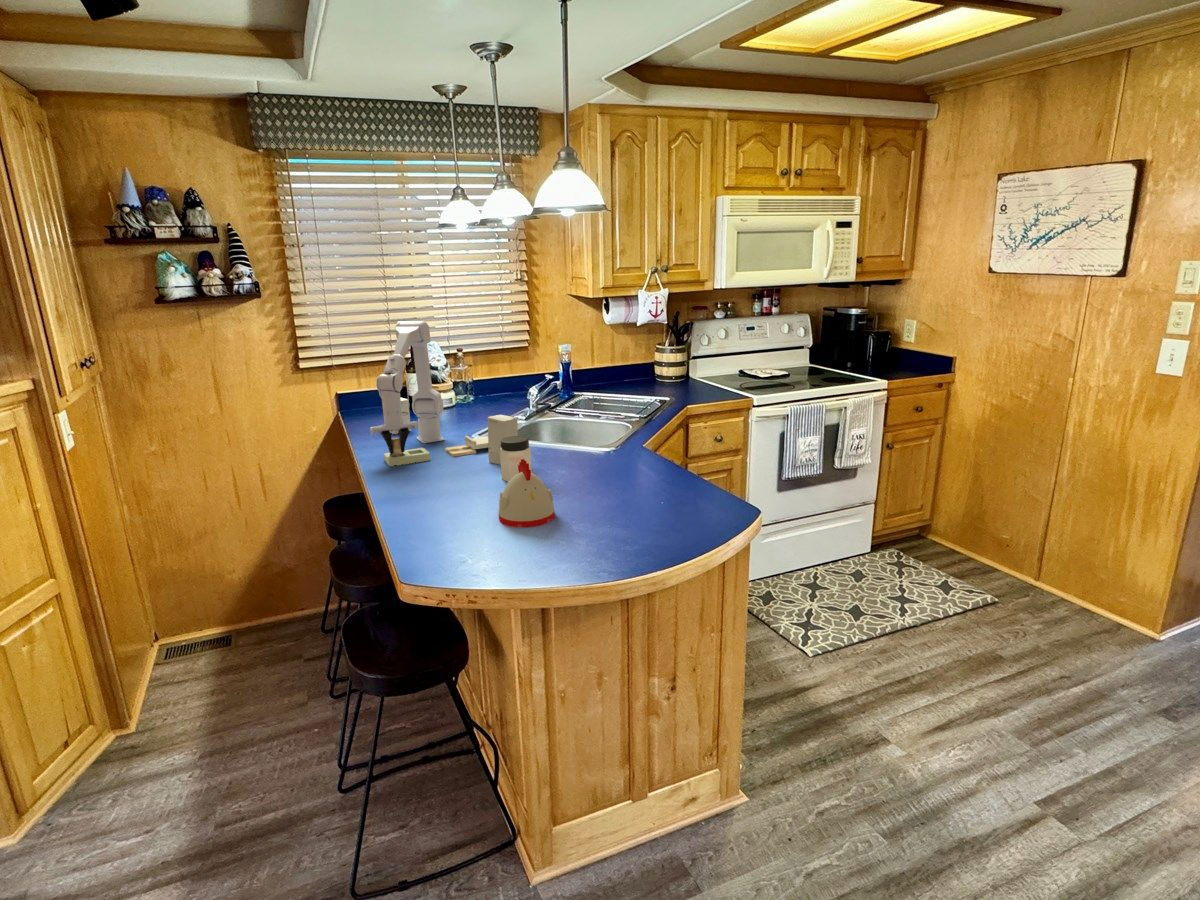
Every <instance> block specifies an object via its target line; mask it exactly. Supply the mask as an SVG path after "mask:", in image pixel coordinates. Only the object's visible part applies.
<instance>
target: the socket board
mask: <svg viewBox="0 0 1200 900" xmlns="http://www.w3.org/2000/svg"><path fill="white" fill-rule="evenodd" d="M383 460H385V461H386V462H385V461H384V462H385V463H386V465H388V466H389V467H390V466H391V467H395V466H394V465H397V466H402V464H403V465H408V464H409V463H410V464H415V462H416V463H420V462H421V463H422V462H426V461H427V462H428V461H431V454H430V452H429V451H428V450H427V449H426V448H424V447H418V448H412V449H406V450H404V452H402V456H398V457H393V456H392V454H390V452H387V453H386V452H385V453H383ZM410 464H409V465H410Z"/></svg>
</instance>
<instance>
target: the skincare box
mask: <svg viewBox="0 0 1200 900" xmlns="http://www.w3.org/2000/svg"><path fill="white" fill-rule="evenodd" d="M518 429H519V428H518V418H517V417H513V416H510V415H505V414H496V415H489V416H488V417H487V437H488V447H487V448H488V462H489V463H491V464H496V465H500V466H501V460H500V449H501V439H503V438H505V437H510V436H519V435H518V434H519V433H518V431H519V430H518Z"/></svg>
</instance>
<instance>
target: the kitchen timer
mask: <svg viewBox="0 0 1200 900" xmlns="http://www.w3.org/2000/svg"><path fill="white" fill-rule="evenodd" d="M518 471H519V473H518V474H516V475H515V476H514V477H513V478H512V479H511V480H510V481H509V482H507V484H506V485H505V487H504V489H503V492H501V491H500V493H499V500H498V504H499V506H498V520H499V523H501V524H502V525H504V526H507V527H512V528H522V529H524V528H534V527H539V526H543V525H546V524H548V523H550V522H552V521H553V520H554V519H555V506H554V505H555V504H554V498H553V493H552V490H551V488H549V489H548V488H547V486H546V485H545V483H544V481H543V480H541V479H540V477H539V476H537V475H536V474H534V473H533V472H532V473H531V470H529V463H527V462H526V461H525V459H521V462H519V465H518Z"/></svg>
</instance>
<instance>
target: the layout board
mask: <svg viewBox="0 0 1200 900" xmlns="http://www.w3.org/2000/svg"><path fill="white" fill-rule="evenodd" d="M444 451H445V452H446V453H448V454H449V455H450V456H451V457H452V458H454V457H456V458H457V457H461V456H466V455H474V454H477V449H472V448H471V447H469V446H468V445H466V444H464V445H463V444H462V445H457V446H451V447H449V446H448V447H445V448H444Z"/></svg>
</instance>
